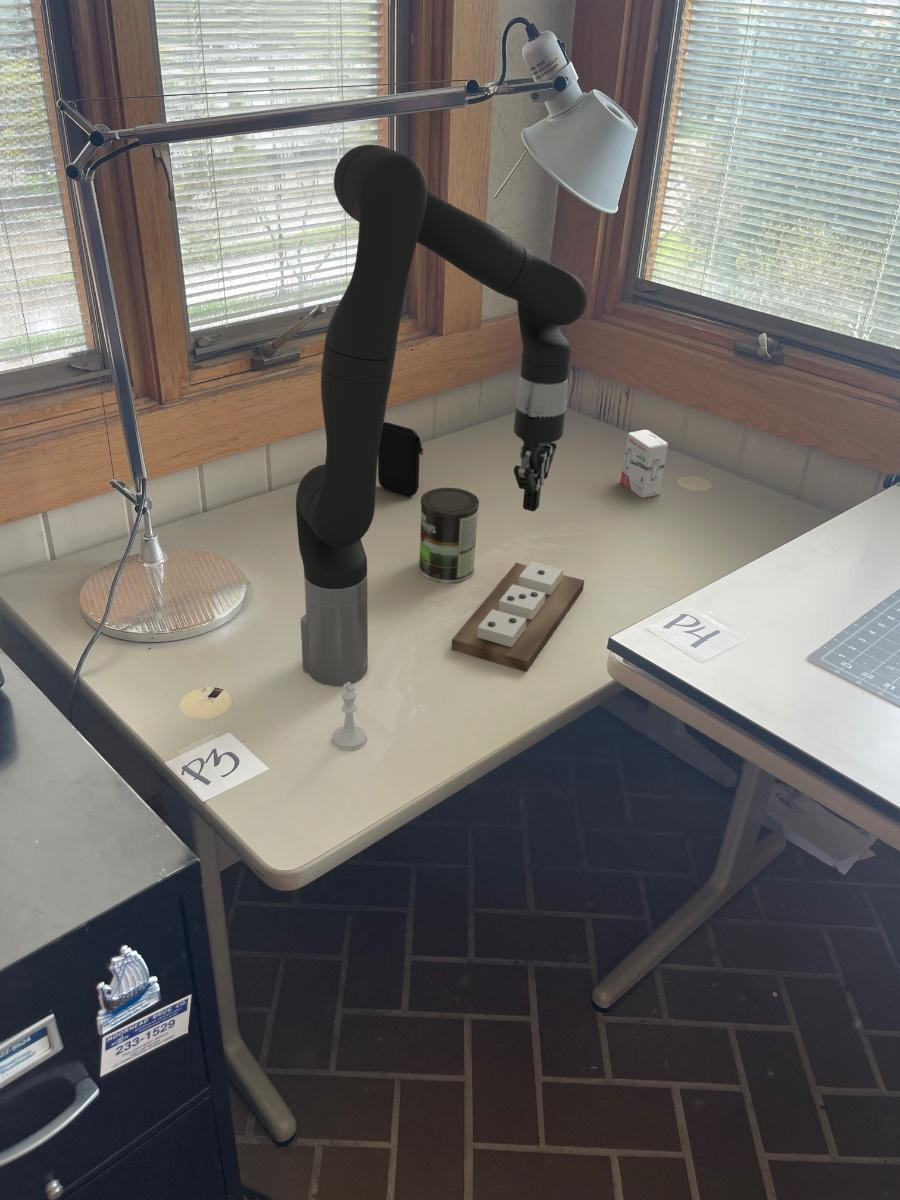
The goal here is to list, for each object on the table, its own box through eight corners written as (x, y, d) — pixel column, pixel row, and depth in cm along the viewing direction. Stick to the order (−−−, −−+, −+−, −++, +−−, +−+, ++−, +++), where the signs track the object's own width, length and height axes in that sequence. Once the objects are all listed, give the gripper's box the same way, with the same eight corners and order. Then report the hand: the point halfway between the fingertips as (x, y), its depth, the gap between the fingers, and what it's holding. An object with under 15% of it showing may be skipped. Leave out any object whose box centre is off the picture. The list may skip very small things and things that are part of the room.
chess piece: (349, 724, 147) (348, 668, 141) (374, 738, 144) (374, 682, 139) (324, 740, 143) (322, 683, 138) (349, 755, 141) (348, 698, 135)
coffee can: (430, 587, 180) (432, 516, 172) (411, 559, 188) (412, 491, 180) (483, 578, 183) (488, 509, 175) (462, 552, 191) (466, 484, 183)
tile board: (451, 649, 163) (452, 639, 162) (515, 572, 185) (516, 562, 184) (526, 671, 159) (527, 661, 158) (583, 589, 181) (584, 580, 180)
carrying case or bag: (425, 496, 210) (427, 430, 202) (417, 502, 208) (418, 435, 200) (383, 483, 215) (383, 418, 207) (374, 488, 212) (374, 422, 205)
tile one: (518, 586, 177) (519, 575, 175) (530, 570, 181) (531, 560, 180) (550, 594, 175) (551, 583, 173) (562, 579, 179) (563, 568, 178)
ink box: (619, 482, 220) (626, 431, 214) (638, 478, 222) (645, 428, 215) (641, 498, 213) (649, 446, 207) (660, 495, 215) (669, 443, 209)
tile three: (498, 610, 170) (499, 599, 168) (511, 594, 174) (512, 583, 173) (531, 620, 168) (533, 608, 166) (544, 603, 172) (545, 592, 171)
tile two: (477, 637, 163) (477, 626, 161) (491, 619, 167) (492, 608, 166) (511, 647, 161) (512, 635, 159) (525, 628, 165) (526, 617, 164)
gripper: (533, 387, 159) (523, 487, 168) (501, 414, 148) (492, 519, 157) (578, 396, 156) (566, 498, 165) (549, 424, 146) (538, 531, 155)
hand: (530, 508), depth 161 cm, fingers closed
